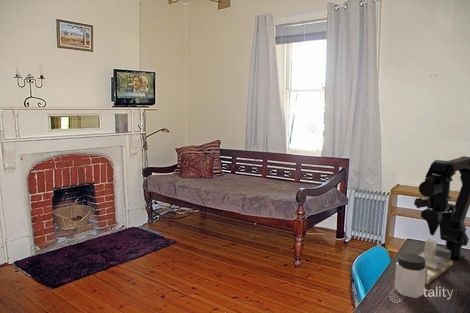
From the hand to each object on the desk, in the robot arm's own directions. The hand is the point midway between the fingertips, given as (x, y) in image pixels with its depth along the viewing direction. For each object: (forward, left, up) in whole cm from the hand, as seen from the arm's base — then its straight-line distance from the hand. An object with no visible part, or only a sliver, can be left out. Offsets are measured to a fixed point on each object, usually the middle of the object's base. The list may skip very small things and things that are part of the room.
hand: (436, 232), depth 139 cm
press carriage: (+5, 0, -11) cm, 12 cm away
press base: (+7, 0, -13) cm, 15 cm away
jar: (+29, +3, -13) cm, 32 cm away
